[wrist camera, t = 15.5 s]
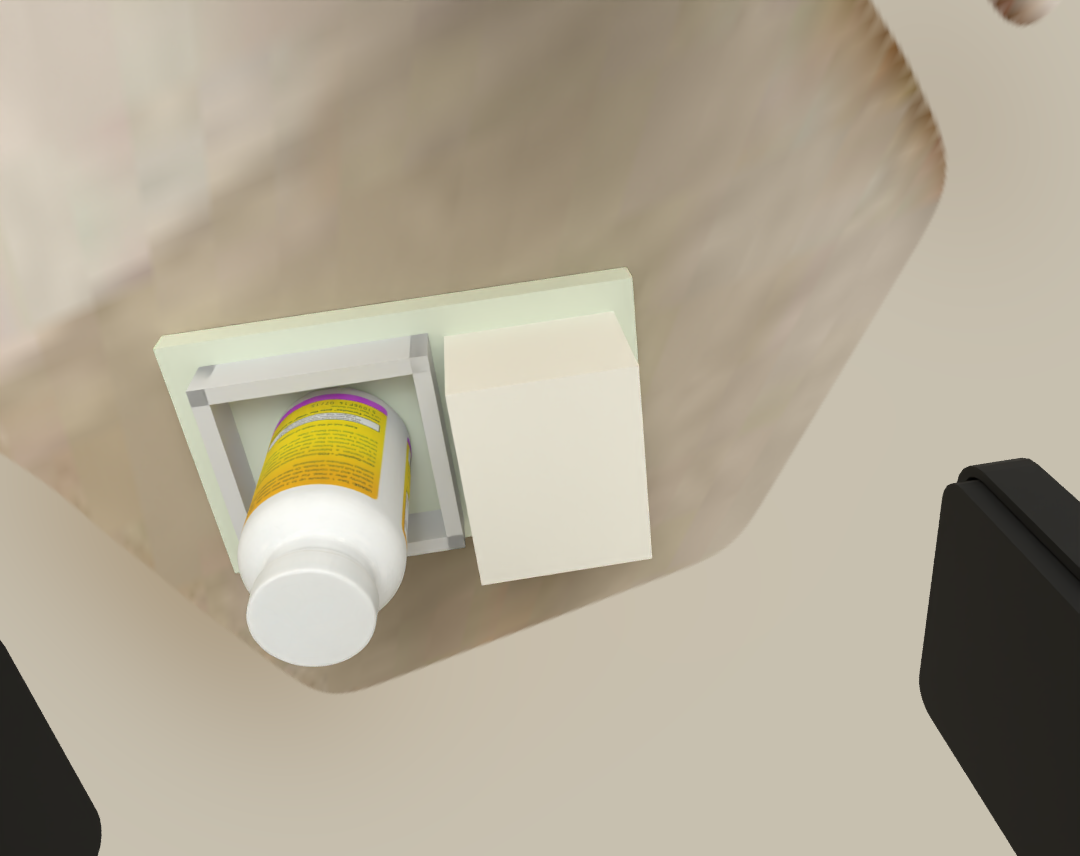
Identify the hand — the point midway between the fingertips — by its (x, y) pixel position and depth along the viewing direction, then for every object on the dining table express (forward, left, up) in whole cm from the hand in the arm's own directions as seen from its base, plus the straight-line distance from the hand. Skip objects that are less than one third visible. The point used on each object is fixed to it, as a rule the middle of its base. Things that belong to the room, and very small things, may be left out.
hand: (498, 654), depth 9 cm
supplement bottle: (+8, +15, -32) cm, 36 cm away
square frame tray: (+4, +15, -33) cm, 37 cm away
